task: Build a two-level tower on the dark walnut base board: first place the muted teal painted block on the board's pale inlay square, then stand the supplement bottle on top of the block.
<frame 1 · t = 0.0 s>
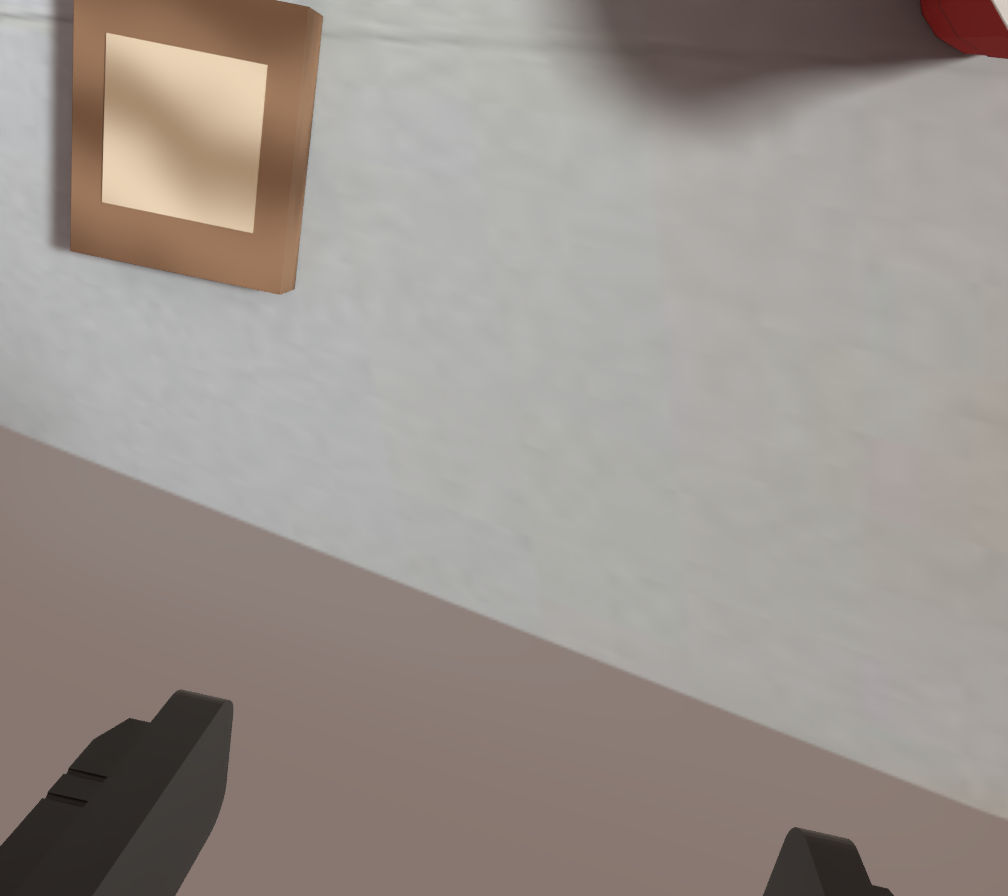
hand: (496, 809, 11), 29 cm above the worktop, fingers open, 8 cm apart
base board: (202, 138, 37), on the worktop
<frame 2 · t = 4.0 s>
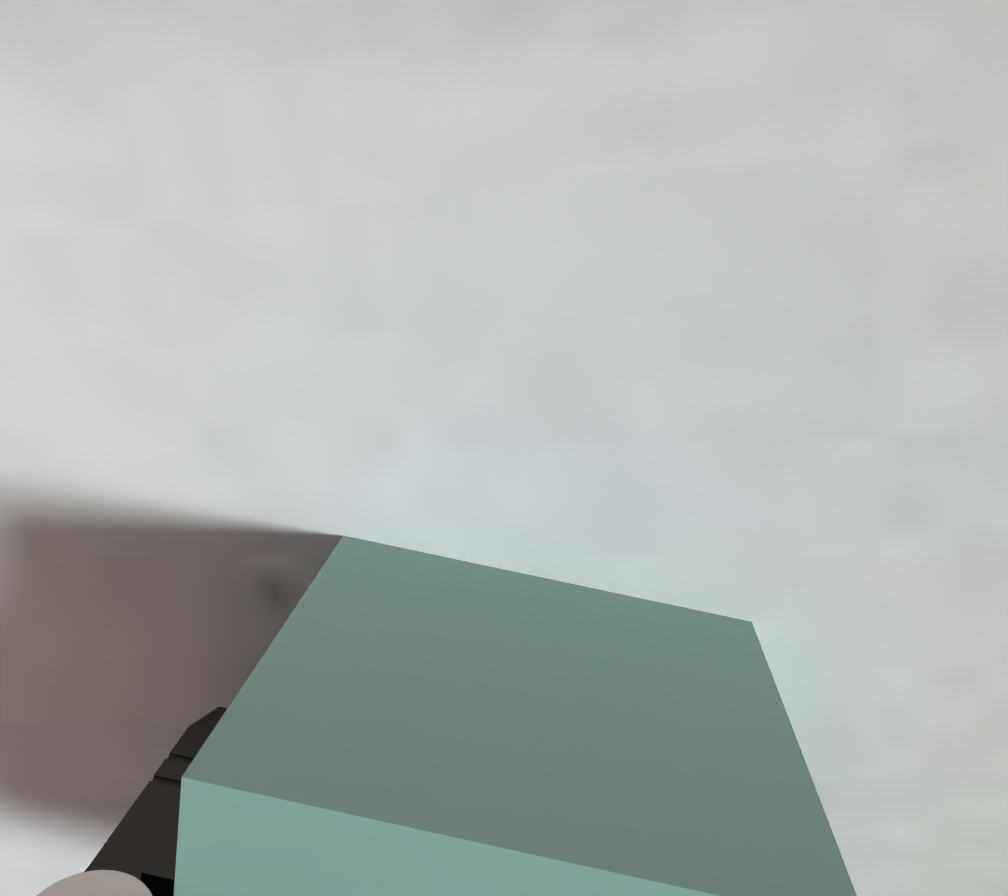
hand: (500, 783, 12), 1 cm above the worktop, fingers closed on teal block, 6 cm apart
teal block: (507, 746, 13), on the worktop, touching gripper
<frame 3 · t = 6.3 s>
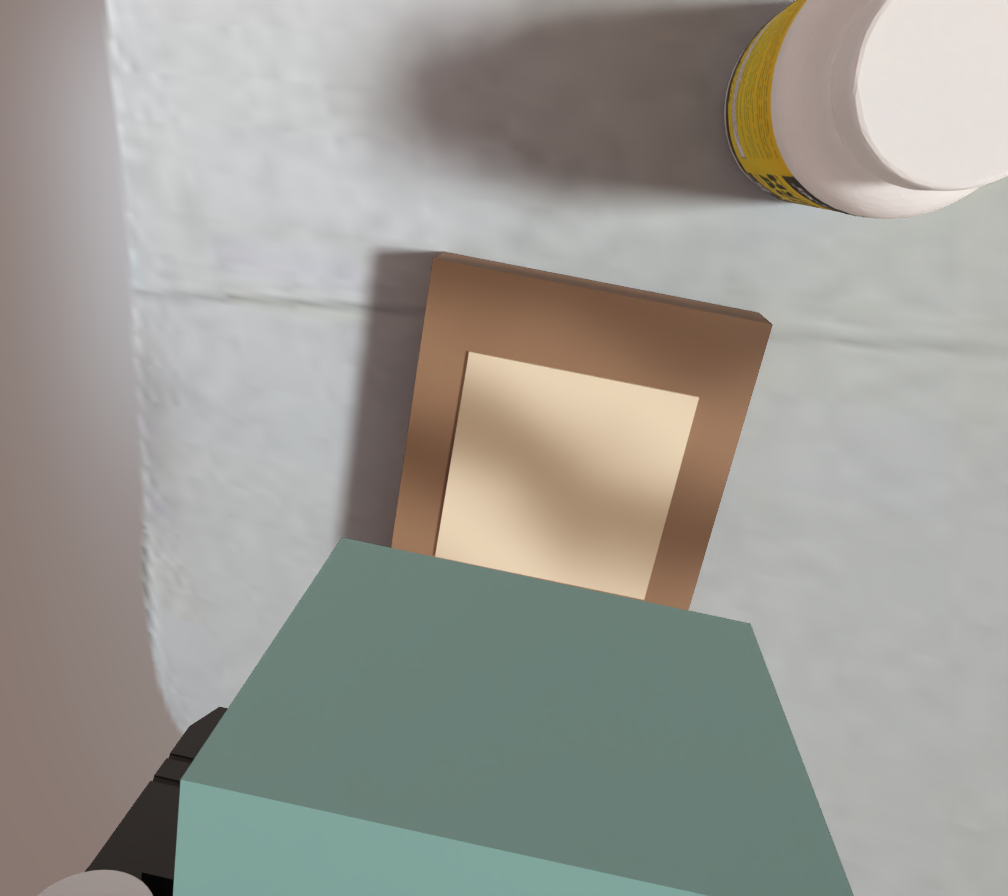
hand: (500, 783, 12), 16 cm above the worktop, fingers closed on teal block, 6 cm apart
base board: (562, 458, 27), on the worktop
supplement bottle: (815, 107, 23), on the worktop
teal block: (506, 748, 13), point 15 cm above the worktop, touching gripper
when the fingers open (4 cm above the worktop, at t = 8.8 s): teal block stays where it is, resting on base board.
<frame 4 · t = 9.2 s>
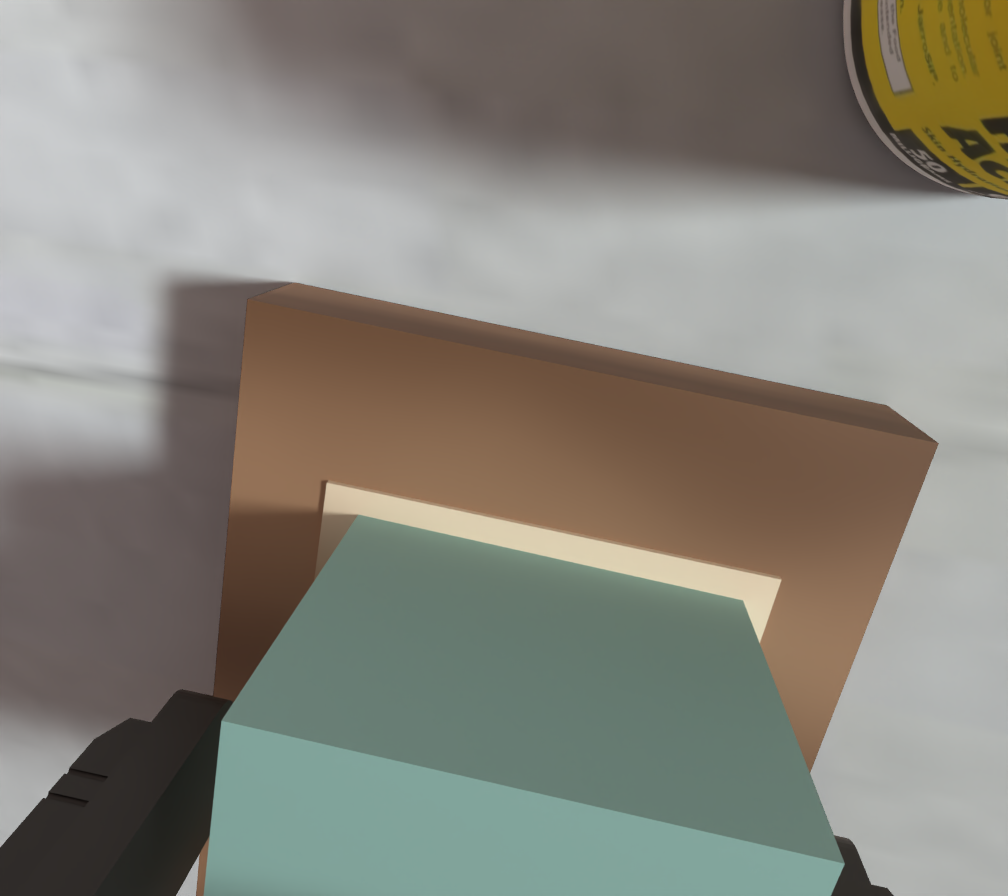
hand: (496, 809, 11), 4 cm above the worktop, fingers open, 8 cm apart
base board: (517, 650, 15), on the worktop
teal block: (510, 717, 13), point 2 cm above the worktop, touching base board
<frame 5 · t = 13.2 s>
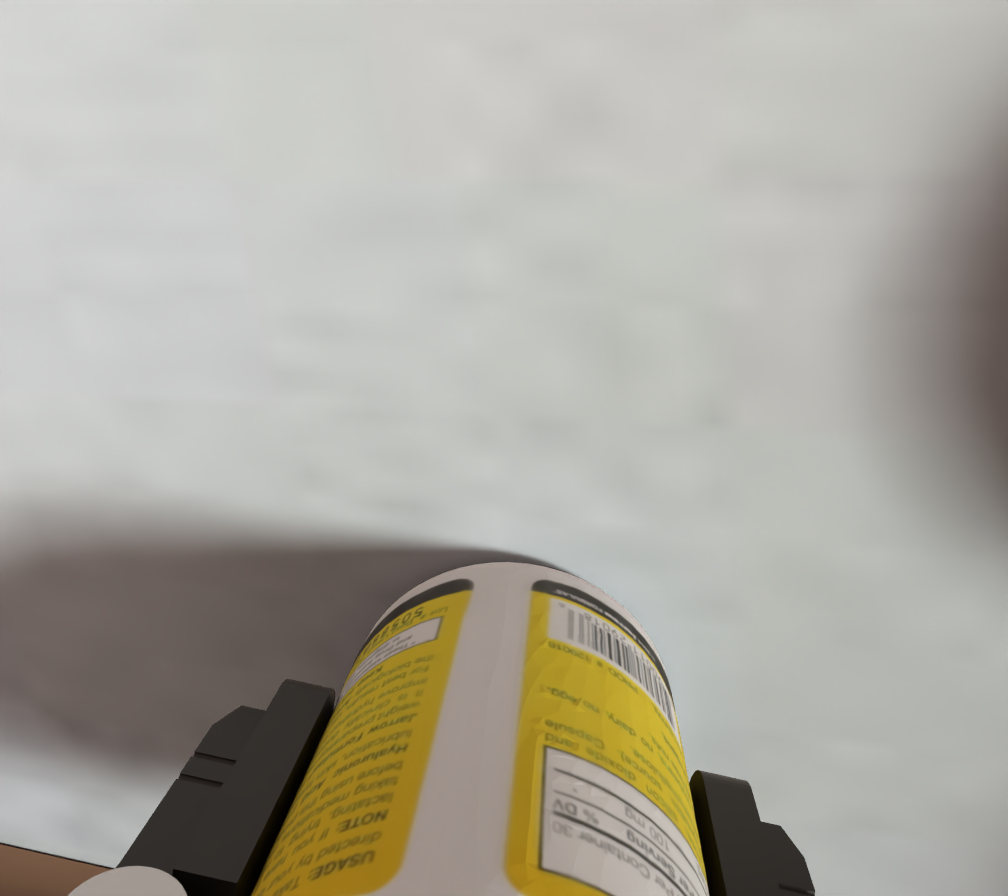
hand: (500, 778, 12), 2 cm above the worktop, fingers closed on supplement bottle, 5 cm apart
supplement bottle: (514, 687, 14), on the worktop, touching gripper
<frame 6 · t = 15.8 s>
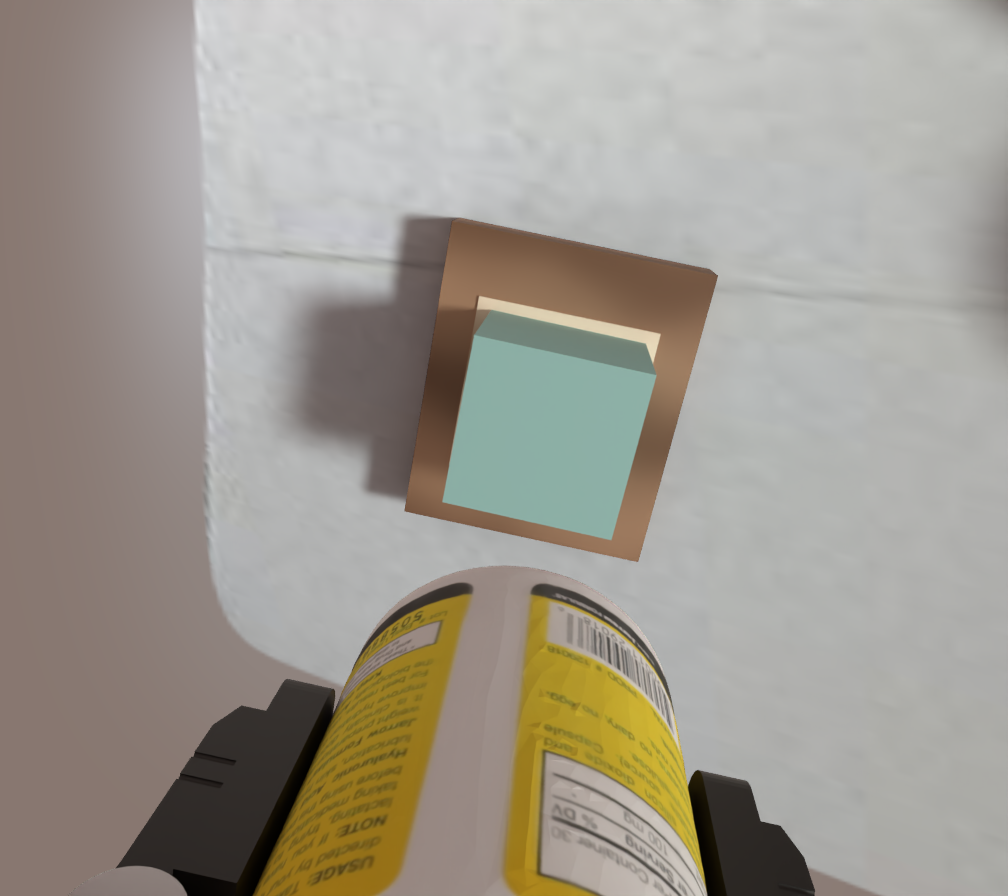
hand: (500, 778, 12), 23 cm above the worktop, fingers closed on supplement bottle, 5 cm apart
base board: (552, 388, 34), on the worktop
supplement bottle: (513, 690, 14), point 21 cm above the worktop, touching gripper
teal block: (551, 400, 32), point 2 cm above the worktop, touching base board
when the fingers open (10 cm above the worktop, at t = 18.7 s): supplement bottle stays where it is, resting on teal block.
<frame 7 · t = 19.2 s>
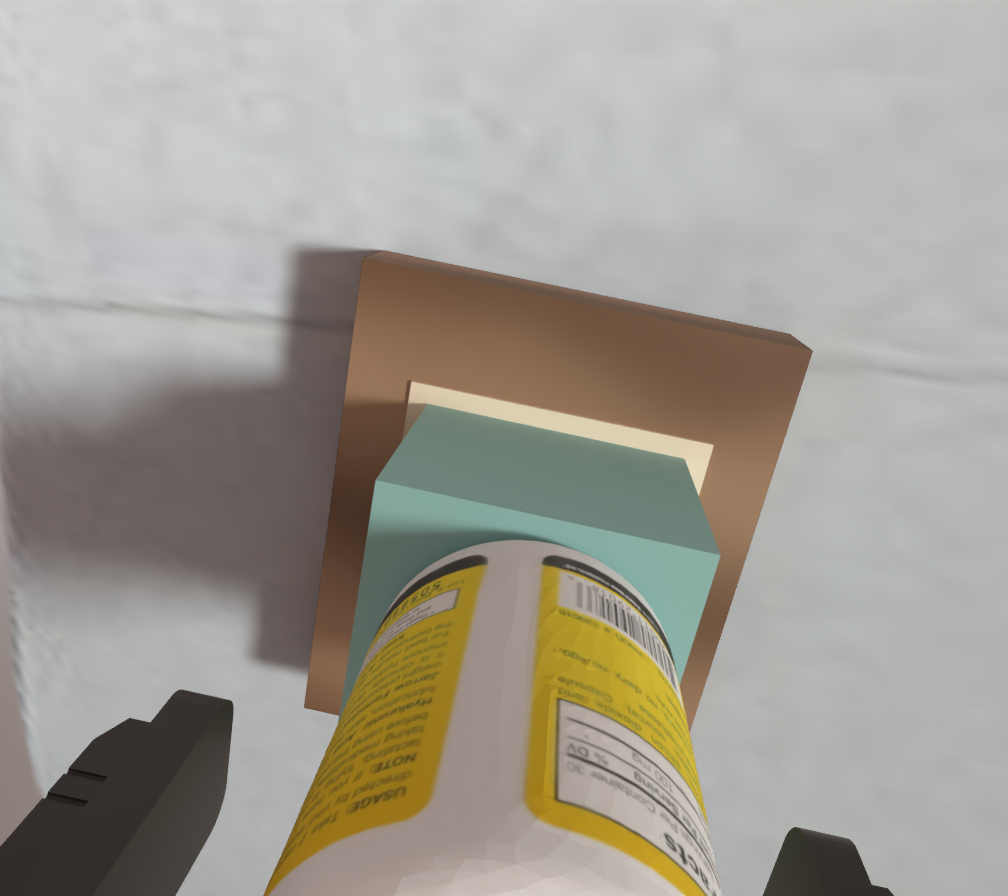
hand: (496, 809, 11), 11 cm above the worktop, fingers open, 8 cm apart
base board: (535, 515, 21), on the worktop
supplement bottle: (525, 660, 15), point 7 cm above the worktop, touching teal block
teal block: (529, 547, 19), point 2 cm above the worktop, touching base board, supplement bottle
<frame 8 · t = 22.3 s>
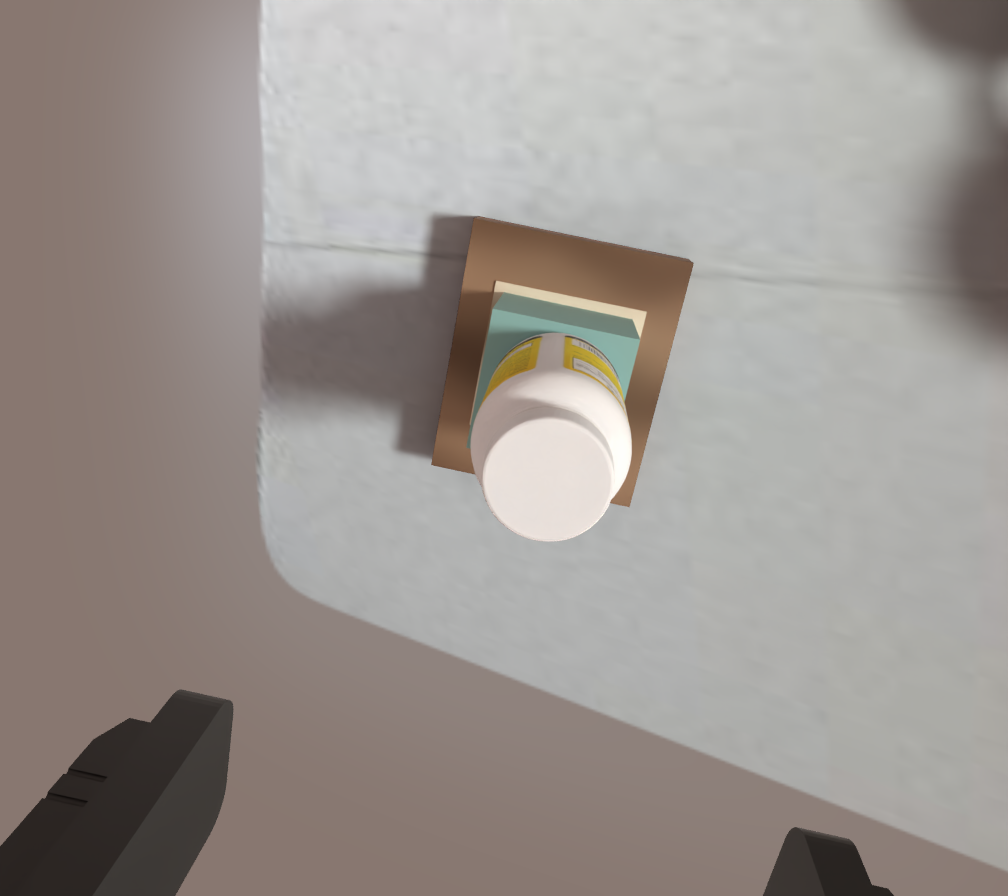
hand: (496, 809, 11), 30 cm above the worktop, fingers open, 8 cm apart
base board: (556, 360, 40), on the worktop
supplement bottle: (555, 395, 33), point 7 cm above the worktop, touching teal block
teal block: (554, 368, 38), point 2 cm above the worktop, touching base board, supplement bottle
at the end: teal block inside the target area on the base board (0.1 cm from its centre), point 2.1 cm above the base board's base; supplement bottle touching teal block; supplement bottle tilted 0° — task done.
